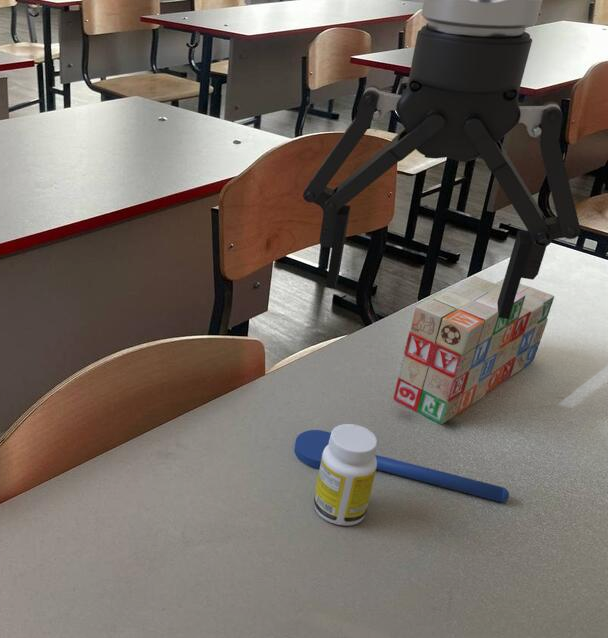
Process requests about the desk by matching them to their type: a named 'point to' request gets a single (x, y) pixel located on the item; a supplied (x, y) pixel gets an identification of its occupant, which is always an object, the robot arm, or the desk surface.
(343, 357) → the desk surface
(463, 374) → the stack of blocks
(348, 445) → the supplement bottle
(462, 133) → the robot arm
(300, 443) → the spoon
